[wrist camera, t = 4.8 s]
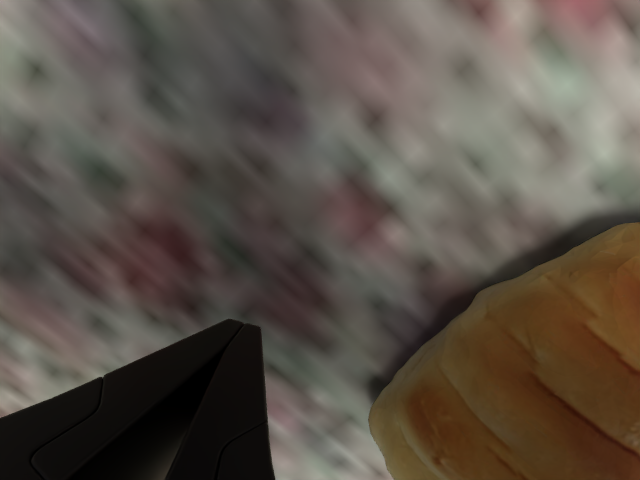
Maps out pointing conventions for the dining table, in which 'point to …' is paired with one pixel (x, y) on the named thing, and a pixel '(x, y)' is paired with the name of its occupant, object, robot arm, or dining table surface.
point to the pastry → (528, 377)
